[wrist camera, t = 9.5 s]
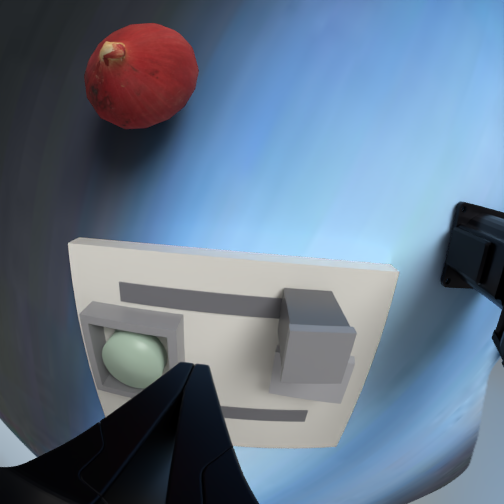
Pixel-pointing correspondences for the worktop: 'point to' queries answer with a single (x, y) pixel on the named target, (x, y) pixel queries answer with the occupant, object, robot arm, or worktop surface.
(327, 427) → the panel
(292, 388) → the rocker grey
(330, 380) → the slider grey
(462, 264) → the robot arm
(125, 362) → the button green
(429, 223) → the worktop surface
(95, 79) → the onion
